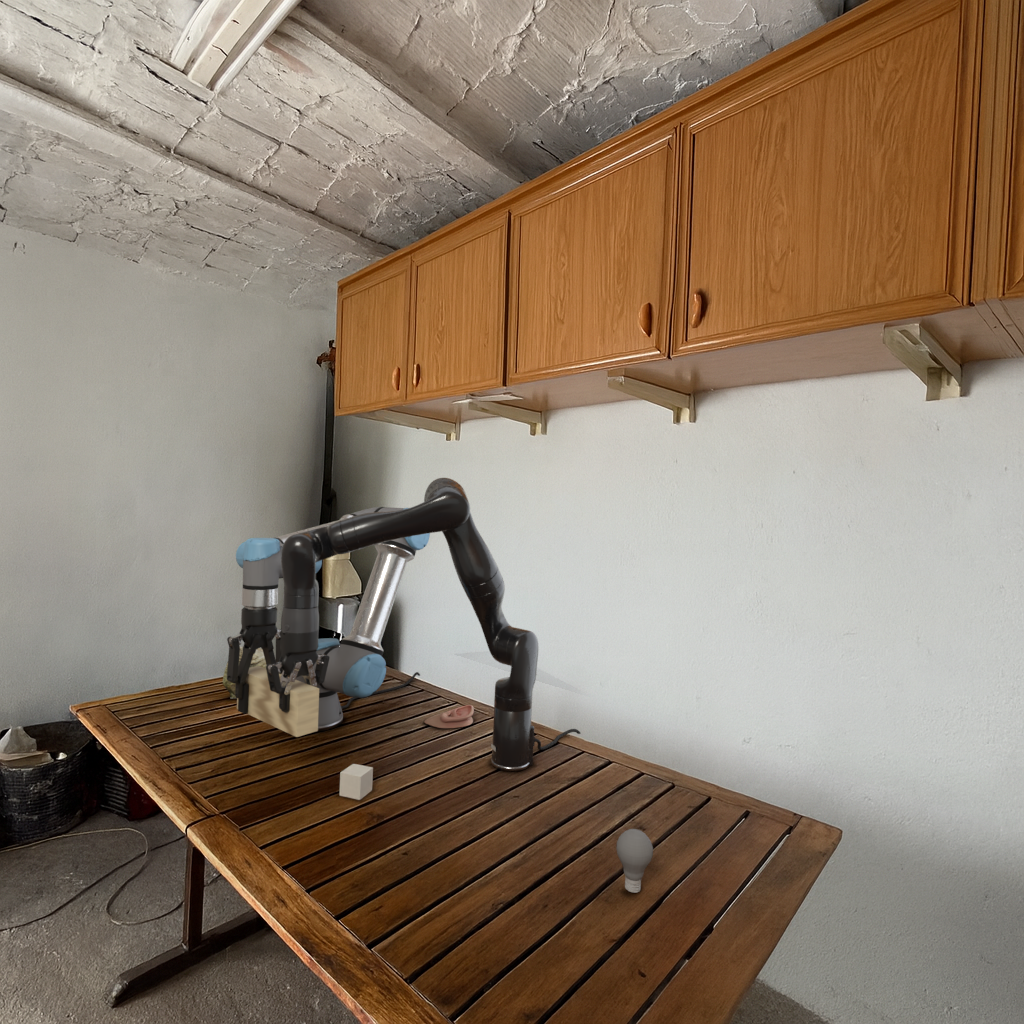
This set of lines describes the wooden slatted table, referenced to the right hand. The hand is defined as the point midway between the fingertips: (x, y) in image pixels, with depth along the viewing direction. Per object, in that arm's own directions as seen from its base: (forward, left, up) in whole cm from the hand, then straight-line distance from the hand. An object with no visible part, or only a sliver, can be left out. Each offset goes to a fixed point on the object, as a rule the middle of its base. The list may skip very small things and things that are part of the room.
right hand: (297, 707), depth 133 cm
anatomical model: (-47, -30, -19) cm, 59 cm away
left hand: (+7, -15, -4) cm, 17 cm away
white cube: (-12, +3, -19) cm, 23 cm away
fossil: (+1, -73, -19) cm, 76 cm away
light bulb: (-46, +55, -19) cm, 74 cm away
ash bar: (+3, -7, -5) cm, 9 cm away
